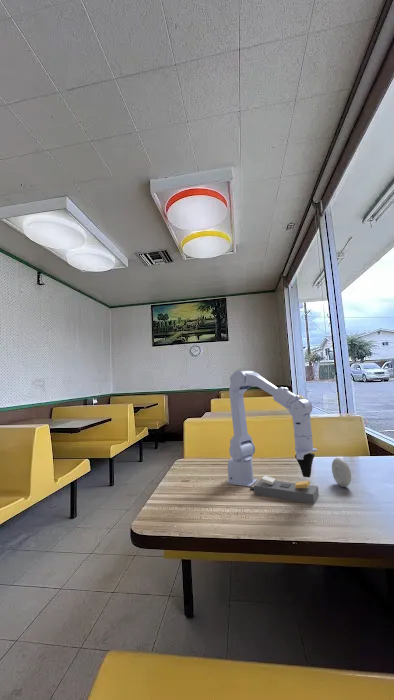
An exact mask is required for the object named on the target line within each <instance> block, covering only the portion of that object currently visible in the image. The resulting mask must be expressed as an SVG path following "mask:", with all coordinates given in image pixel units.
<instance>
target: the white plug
mask: <svg viewBox="0 0 394 700" xmlns="http://www.w3.org/2000/svg"><path fill="white" fill-rule="evenodd" d="M260 480H261V481H262V482H265V483H268V484H271V485H273V484H274V483H275V481H277V480H276V478H274V477H271V476H269V475H263V477H261V478H260Z"/></svg>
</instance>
